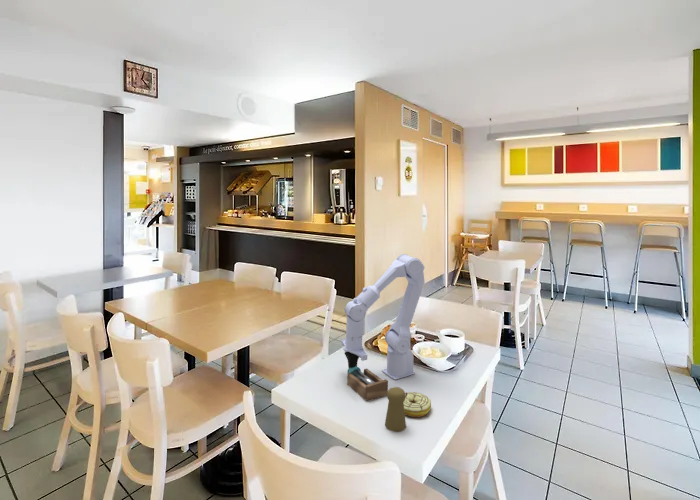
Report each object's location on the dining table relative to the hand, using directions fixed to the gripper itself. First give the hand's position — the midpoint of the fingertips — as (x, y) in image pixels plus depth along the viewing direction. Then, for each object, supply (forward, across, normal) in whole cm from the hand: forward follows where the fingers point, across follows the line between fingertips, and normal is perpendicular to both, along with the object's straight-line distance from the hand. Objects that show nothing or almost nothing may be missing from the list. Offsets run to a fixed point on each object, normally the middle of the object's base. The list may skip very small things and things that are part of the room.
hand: (353, 371), depth 135 cm
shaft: (+2, +7, 0) cm, 7 cm away
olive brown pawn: (+2, +30, -4) cm, 30 cm away
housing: (+3, +9, 0) cm, 9 cm away
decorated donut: (+2, +26, +6) cm, 27 cm away
